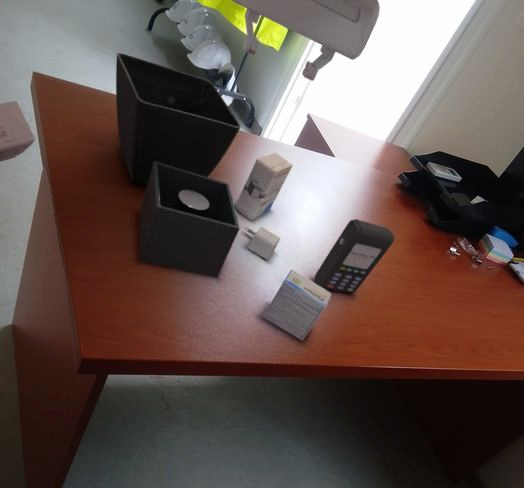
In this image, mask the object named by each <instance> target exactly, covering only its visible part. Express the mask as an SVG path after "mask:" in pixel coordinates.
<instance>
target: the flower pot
mask: <svg viewBox="0 0 524 488" xmlns="http://www.w3.org/2000/svg"><path fill="white" fill-rule="evenodd" d="M115 102H116V103H115V105H116V120H117V131H118V139H119V147H120V151H121V154H122V157H123V160H124V162H125V165H126V168H127V171H128V174H129V176H130V179H131V181H132V183H133V184H135V185H138V186H145V187H147V184H148V180H149V177H150V173H151V169H152V166H153V162H154V161H156V162H159V163H163V164H166V165H169V166H172V167H176V168H179V169H182V170H185V171H189V172H192V173H195V174H198V175H202V176H205V177H208V178H210V177H209V176H211V174H212V173H213V172H214V171H215V170H216V167H217V166H218V165H219V164H220V162H221V161H222V159H223V157H224V156H225V155H226V153H227V152H228V151H229V148H230V147H231V145H232V143H233V142H234V140H236V139H235V138H236V137H237V135H238V133H239V132H240V129H241V128H242V126H241V124H240V122H239V121H238V119H237V118H236V116H235V114H234V113H233V112H232V110H231V109H230V107H229V106H228V104H227V103H226V101H225V99H223V97H222V95H221V94H220V93H219V91H218V89H217V88H216V86H215V85H214V83H213V82H211V81H210V80H208V79H205V78H202V77H199V76H196V75H193V74H190V73H186V72H183V71H180V70H177V69H173V68H170V67H167V66H164V65H162V64H158V63H155V62H152V61H148V60H145V59H142V58H139V57H136V56H131V55H129V54H125V53H122V52H118V53H116V65H115Z"/></svg>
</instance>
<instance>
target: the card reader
mask: <svg viewBox="0 0 524 488" xmlns="http://www.w3.org/2000/svg"><path fill="white" fill-rule="evenodd" d="M394 241H395V235H394V233H393V232H392V230H391V229H389V228H388V227H386V226H384V225H383V226H382V225H379V224H376V223H372V222H368V221H364V220H361V219H358V218H355V219H350V221H348V223H347V224H346V226H345V227H344V229H343V230H342V232H341V233H340V235H339V236H338V238H337V240H336V241H335V243H334V244H333V246H332V248H331V249H330V251H329V252H328V254H327V255H326V257H325V258H324V260H323V262H322V263H321V265H320V267H319V269H318V270H317V272H316V273H315V275H314V283H315V284H317V285H319V286H320V287H322V288H323V289H325V290H327V291H331V292H337V293H343V294H348V295H350V294H351V295H352V294H354V293H356V292H357V290H358V289H359V288H360V286H361V285H362V284H363V282H365V280H366V279H367V278H368V276H369V275H370V274H371V273H372V271H373V269H374V268H376V266H377V264H378V263H379V262H380V260H382V258H383V256H384V255H385V254H386V253H387V251H388V250H389V249H390V247H391V246H392V244H393V243H394Z"/></svg>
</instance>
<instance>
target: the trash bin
mask: <svg viewBox="0 0 524 488" xmlns="http://www.w3.org/2000/svg"><path fill="white" fill-rule="evenodd" d="M182 190H191V191H195V192H197V193H199V194H201V195H203V196H204V197H205V198H206V199H207V200H208V202H209V208H208V211H207V213H206V216H205V217H201V216H198V215H194V214H190V213H186V212H183V211H179V210H175V209H174V206H175V203H176V200H177V197H178V194H179V192H180V191H182ZM237 216H238V215H237V212H236V208H235V204H234V200H233V195H232V191H231V188H230V184H229V182H228V183H227V182H225V181H221V180H218V179H214V178H212V177H205V176H202V175H198V174H195V173H192V172H189V171H185V170H182V169H179V168H176V167H172V166H169V165H166V164H163V163H159V162H156V161H154V162H153V166H152V169H151V173H150V177H149V180H148V184H147V186H146V189H145V192H144V195H143V199H142V202H141V206H140V212H139V259H140V260H139V261H140V262H142V263H146V264H151V265H155V266H160V267H166V268H169V269H175V270H180V271H184V272H189V273H193V274H197V275H203V276H208V277H213V278H218V277H219V275H220V274H221V270H222V268H223V267H224V264H225V262H226V260H227V258H228V256H229V253H230V251H231V249H232V247H233V244H234V242H235V240H236V238H237V236H238V235H239V234H238V233H239V231H240V230H241V228H240V224H239V220H238V217H237Z"/></svg>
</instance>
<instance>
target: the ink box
mask: <svg viewBox="0 0 524 488" xmlns="http://www.w3.org/2000/svg"><path fill="white" fill-rule="evenodd" d="M292 168H293V164H292V163H291V162H290V161H289V160H287V159H285V158H284V157H283V156H282V155H280V154H279V153H277V152H273V153H271V154H267V155H265V156H262V157H258V158H256V160H255V163H254V164H253V167H252V169H251V171H250V173H249V175H248V177H247V180H246V181H245V184H244V186H243V188H242V190H241V192H240V194H239V197H238V199H237V200H236V203H235V204H234V208H235V210H237V211H238V212H239V213H241V214H242V215H243V216H244V217H246V218H247V219H248V220H249V221H250V220H251V221H252V220H254V219H256V218H258V217H260V216H262V215H265V214H266V213H267V212H270V211H271V209H272V207H273V205H274V203H275V201H276V199H277V197H278V196H279V193H280V191H281V189H282V187H283V185H284V184H285V182H286V180H287V178H288V176H289V174H290V172H291V170H292Z"/></svg>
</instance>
